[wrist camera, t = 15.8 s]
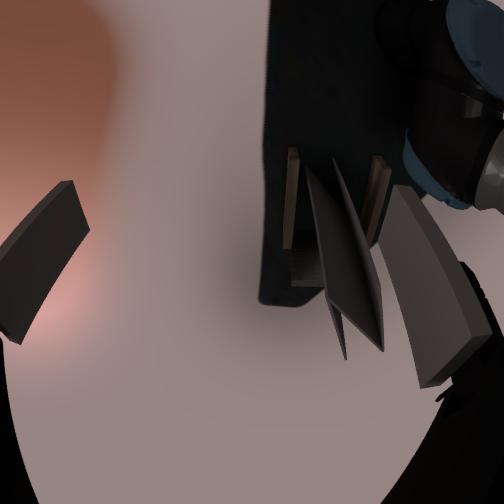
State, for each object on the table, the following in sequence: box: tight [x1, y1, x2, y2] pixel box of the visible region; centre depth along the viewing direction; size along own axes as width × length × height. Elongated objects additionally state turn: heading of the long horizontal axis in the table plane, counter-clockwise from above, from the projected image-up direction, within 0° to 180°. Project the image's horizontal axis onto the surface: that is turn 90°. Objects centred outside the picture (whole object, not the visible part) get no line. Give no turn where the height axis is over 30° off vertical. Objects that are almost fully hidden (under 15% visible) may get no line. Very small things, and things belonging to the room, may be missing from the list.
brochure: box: [305, 158, 384, 360], centre depth 42 cm, size 14×6×30 cm, turn 22°
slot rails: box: [283, 147, 391, 250], centre depth 51 cm, size 17×18×6 cm
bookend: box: [290, 230, 324, 287], centre depth 54 cm, size 14×2×14 cm, turn 90°
